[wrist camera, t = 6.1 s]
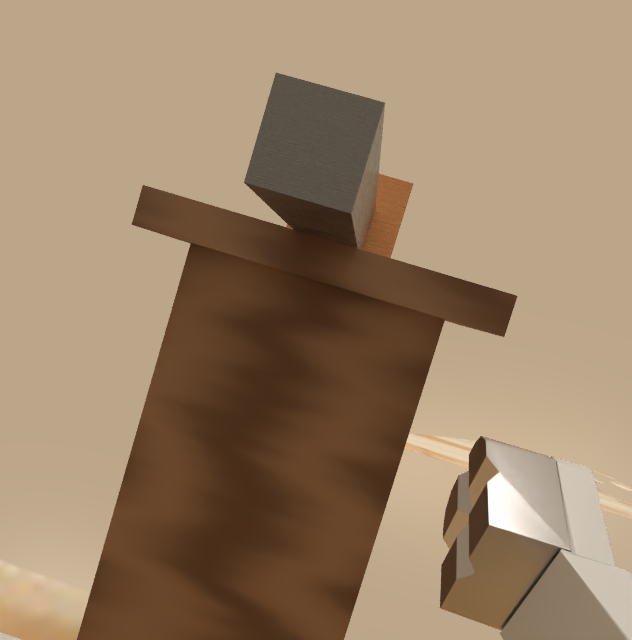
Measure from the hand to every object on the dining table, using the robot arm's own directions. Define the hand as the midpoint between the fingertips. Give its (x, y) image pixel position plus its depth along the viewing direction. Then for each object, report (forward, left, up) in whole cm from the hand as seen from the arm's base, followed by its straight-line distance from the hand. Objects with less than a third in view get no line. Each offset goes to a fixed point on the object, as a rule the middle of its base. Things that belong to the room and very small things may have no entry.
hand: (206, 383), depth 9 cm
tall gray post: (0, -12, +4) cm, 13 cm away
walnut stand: (0, -17, -22) cm, 28 cm away
